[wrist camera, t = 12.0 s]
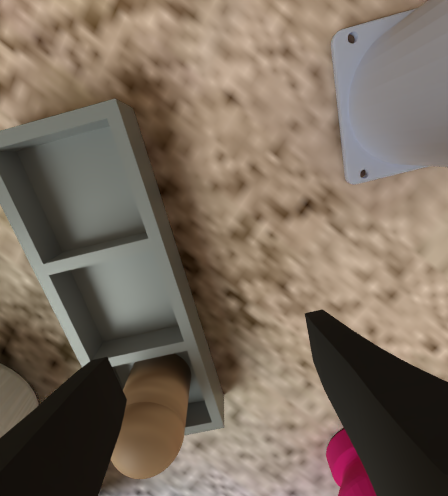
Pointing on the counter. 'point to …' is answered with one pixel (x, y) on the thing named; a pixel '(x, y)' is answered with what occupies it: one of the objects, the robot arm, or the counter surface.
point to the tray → (106, 246)
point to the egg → (153, 416)
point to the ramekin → (14, 399)
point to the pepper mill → (348, 467)
